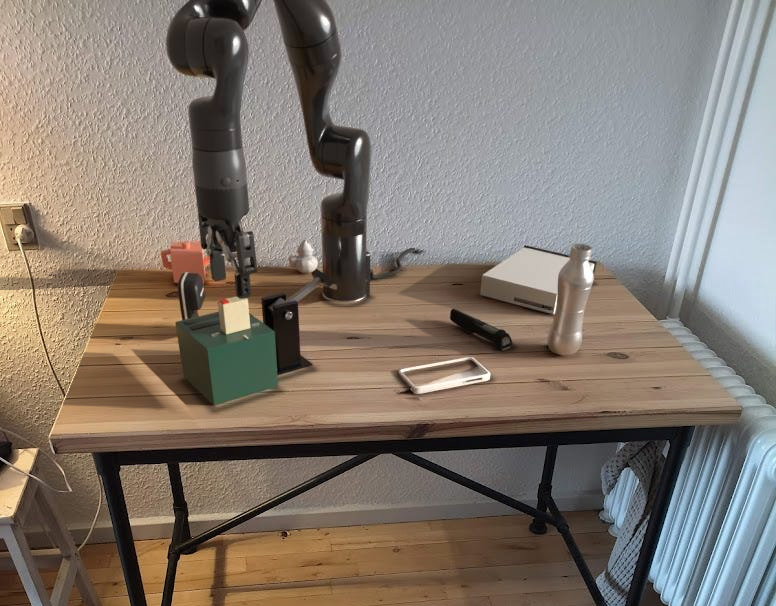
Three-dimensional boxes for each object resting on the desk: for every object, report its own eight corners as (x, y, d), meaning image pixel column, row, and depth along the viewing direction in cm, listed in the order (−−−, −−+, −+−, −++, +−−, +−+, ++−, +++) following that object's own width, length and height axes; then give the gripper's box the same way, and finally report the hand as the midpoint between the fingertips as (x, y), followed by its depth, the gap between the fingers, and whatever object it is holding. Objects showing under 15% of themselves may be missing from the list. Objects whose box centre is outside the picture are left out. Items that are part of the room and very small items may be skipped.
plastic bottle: (581, 347, 149) (602, 243, 137) (576, 362, 144) (597, 256, 131) (548, 341, 150) (566, 238, 138) (542, 356, 145) (560, 250, 133)
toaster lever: (320, 276, 136) (314, 265, 134) (335, 286, 133) (330, 274, 131) (269, 314, 134) (263, 304, 132) (283, 325, 131) (278, 314, 129)
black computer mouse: (204, 342, 146) (197, 283, 139) (184, 341, 146) (176, 283, 139) (210, 326, 151) (203, 269, 144) (190, 326, 151) (182, 269, 144)
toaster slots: (232, 310, 131) (232, 309, 131) (242, 317, 129) (242, 317, 129) (183, 322, 127) (183, 321, 127) (192, 330, 125) (192, 329, 125)
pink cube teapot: (221, 284, 168) (217, 247, 163) (164, 287, 166) (159, 249, 161) (220, 271, 174) (216, 235, 169) (165, 274, 172) (159, 237, 167)
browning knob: (244, 324, 127) (242, 293, 124) (250, 328, 126) (247, 297, 122) (220, 330, 125) (217, 299, 122) (226, 334, 124) (222, 303, 120)
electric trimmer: (458, 320, 158) (459, 305, 156) (513, 346, 148) (515, 331, 146) (445, 324, 156) (446, 309, 154) (499, 351, 146) (501, 336, 144)
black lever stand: (293, 354, 143) (289, 288, 135) (312, 369, 138) (310, 301, 131) (254, 365, 139) (248, 297, 131) (273, 381, 135) (268, 312, 127)
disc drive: (592, 282, 175) (597, 261, 172) (554, 315, 160) (558, 292, 157) (522, 266, 182) (525, 245, 179) (479, 296, 167) (481, 273, 164)
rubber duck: (319, 276, 174) (318, 240, 169) (290, 277, 173) (288, 241, 168) (316, 267, 178) (315, 232, 173) (287, 268, 177) (285, 233, 172)
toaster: (245, 363, 140) (240, 305, 133) (279, 391, 132) (275, 331, 125) (184, 381, 134) (175, 320, 127) (215, 411, 126) (207, 348, 119)
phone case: (471, 362, 142) (397, 376, 138) (471, 355, 142) (397, 369, 137) (490, 380, 137) (414, 395, 132) (491, 373, 136) (415, 388, 131)
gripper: (267, 188, 108) (274, 298, 118) (222, 165, 117) (232, 269, 127) (218, 195, 105) (230, 309, 115) (175, 171, 114) (189, 278, 124)
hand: (231, 288), depth 121 cm, fingers open, 8 cm apart
